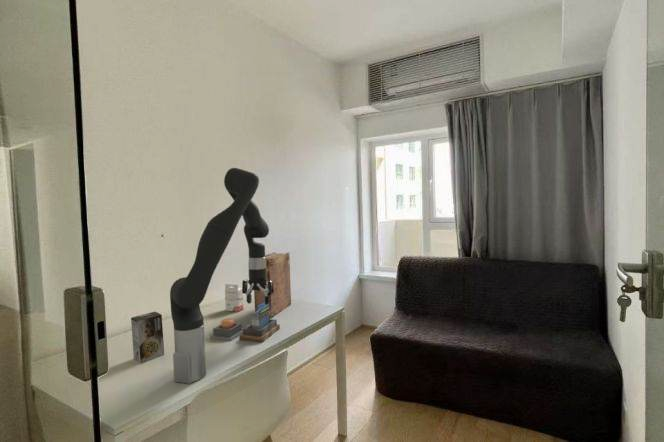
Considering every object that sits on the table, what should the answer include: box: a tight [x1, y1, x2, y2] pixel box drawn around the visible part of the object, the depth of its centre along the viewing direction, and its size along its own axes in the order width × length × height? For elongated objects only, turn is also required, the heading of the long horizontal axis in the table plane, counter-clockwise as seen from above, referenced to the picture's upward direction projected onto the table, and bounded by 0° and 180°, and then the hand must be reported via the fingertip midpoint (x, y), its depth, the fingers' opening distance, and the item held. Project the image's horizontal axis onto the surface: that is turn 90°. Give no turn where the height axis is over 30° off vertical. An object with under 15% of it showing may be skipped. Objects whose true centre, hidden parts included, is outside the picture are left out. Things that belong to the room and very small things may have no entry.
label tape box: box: [251, 302, 270, 330], centre depth 153 cm, size 9×4×12 cm, turn 163°
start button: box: [220, 317, 235, 329], centre depth 154 cm, size 5×5×4 cm
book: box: [253, 251, 292, 319], centre depth 188 cm, size 25×9×30 cm, turn 163°
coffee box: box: [130, 311, 165, 364], centre depth 133 cm, size 9×6×16 cm
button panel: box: [209, 322, 243, 341], centre depth 154 cm, size 11×11×4 cm
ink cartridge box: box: [224, 284, 244, 313], centre depth 191 cm, size 9×5×15 cm, turn 73°
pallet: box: [239, 318, 281, 343], centre depth 154 cm, size 16×11×4 cm
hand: (258, 303), depth 153 cm, fingers open, 8 cm apart
